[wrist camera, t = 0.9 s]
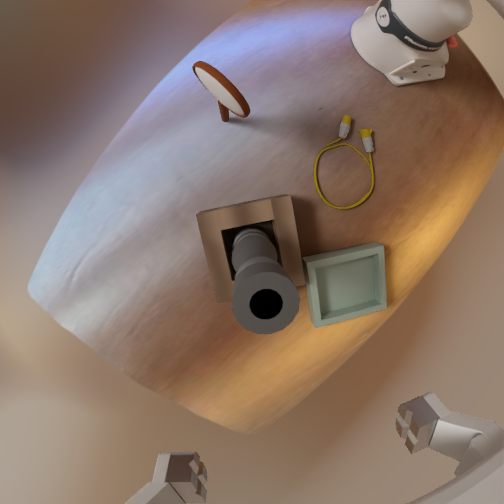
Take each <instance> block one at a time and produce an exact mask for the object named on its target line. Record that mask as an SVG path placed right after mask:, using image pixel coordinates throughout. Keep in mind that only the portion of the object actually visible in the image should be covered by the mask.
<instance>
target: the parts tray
mask: <svg viewBox="0 0 504 504" xmlns="http://www.w3.org/2000/svg"><path fill="white" fill-rule="evenodd" d="M302 261H303V268H304V275H305V281H306V288H307V295H308V302H309V310H310V317H311V321H312V323H313V324H314V326H315V328H318V327H322V326H326V325H329V324H333V323H337V322H341V321H345V320H348V319H352V318H356V317H359V316H363V315H366V314H369V313H373V312H376V311H380V310H383V309H386V308H387V301H386V272H385V255H384V245H382V244H379V243H377V242H371V243H366V244H362V245H357V246H353V247H348V248H344V249H339V250H334V251H330V252H325V253H321V254H316V255H311V256H307V257H302Z"/></svg>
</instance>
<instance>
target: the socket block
mask: <svg viewBox="0 0 504 504" xmlns="http://www.w3.org/2000/svg"><path fill="white" fill-rule="evenodd" d="M196 216H197V221H198V225H199V230H200V234H201V238H202V243H203V247H204V251H205V255H206V259H207V263H208V268H209V272H210V276H211V280H212V284H213V288H214V291H215V295H216V299H217V303H220V302H225V301H230V300H232V299H233V284H234V281H235V275H236V273H237V272H236V271H235V272H232V268H231V263H230V259H229V255H228V250H227V246H226V241H225V236H224V232H223V230H224V229H229V228H234V227H239V226H244V225H248V224H253V223H258V222H263V221H268V220H271V222H272V227H273V232H274V238H275V243H276V249H277V254H278V260H279V262H278V264H279V265H280V266H281V267H282V268H283V269H284V270H285V271H286V272H287V274H288V275H289V276H290V277H291V279H292V281H293V283H294V284H295V286H296V287H298V286H302V285H305V279H304V272H303V266H302V259H301V253H300V247H299V241H298V235H297V229H296V223H295V217H294V212H293V206H292V201H291V195H286V194H284V195H279V196H273V197H268V198H263V199H258V200H253V201H248V202H243V203H238V204H233V205H229V206H224V207H219V208H214V209H210V210H205V211H201V212H199V213H198V214H196Z"/></svg>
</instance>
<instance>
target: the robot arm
mask: <svg viewBox="0 0 504 504" xmlns="http://www.w3.org/2000/svg"><path fill="white" fill-rule="evenodd" d="M487 1H488V2H489V3H490V4H491V5H492V7H493V8H494V9H495V10H496V11H497V12H498V13H499V14H500V16H501V17H502V18H503V19H504V0H487ZM471 20H472V8H471V4H470V2H469V0H380V1H379V2H378V3H377V4H375V5H374V6H373V7H371V6H370V7H368V8H366V10H365V11H364V14H363V16H361V17H360V18H358V19H357V20H356V21H355V22H354V23H353V25H352V28H351V37H352V41H353V44H354V46H355V48H356V49H357V51H358V53H359V54H360V55H361V56H362V58H363V59H364V60H365V61H366V62H368V63H369V64H370V65H371V66H373V67H374V68H376V69H377V70H379V71H380V72H382V73H383V74H385V75H386V77H387V78H388V79H389V80H390V81H391V82H392V83H393V84H394V85H396V86H400V85H405V84H411V83H417V82H423V81H429V80H436V79H442V78H443V77H444V76H445V64H447V63H448V60H449V52H448V48H447V45H446V42H445V41H446V40H447V44H448V47H451V48H453V47H457V46H458V44H457V42H456V40H455V37H454V36H452V35H454V34H456V33H458V32H459V31H461V30H463V29H465V28H466V27H468V25H469V24H470V22H471ZM400 78H402V80H401V79H400ZM398 413H399V416H398V417H397V419H396V429H397V431H398V434H399V435H400V437H401V438H404V439H406V442H405V445H406V447H407V448H408V450H409V451H410V453H411V454H413V453H415V452H418V451H420V450H422V449H424V448H426V447H428V446H429V448H431V449H433V450H436V451H438V452H440V453H442V454H444V455H446V456H449V457H451V458H453V459H456V460H458V461H460V463H459V465H458V467H457V468H456V470H455V475H456V476H457V477H456V478H454V479H453V480H451V481H449V482H448V483H446V484H444V485H442V486H441V487H439V488H437V489H435V490H433V491H431V492H430V493H428V494H426V495H424V496H422V497H420V498H418V499H416V500H414V501H412V502H410V503H407V504H504V430H503V429H502V427H500V425H499V424H498V423H497V422H495V421H491V420H486V419H482V418H478V417H474V416H470V415H465V414H462V413H458V412H455V411H453V412H450V411H449V410H448V409H447V408H446V407H445V406H444V405H443V403H442V402H441V401H440V400H439V399H438V398H437V397H436V396H435V394H434V393H433V392H428V393H426V394H424V395H422V396H420V397H417V398H415V399H412V400H410V401H408V402H406V403H403V404H401V405H400V406H399V407H398ZM199 460H200V456H199V454H198V453H197V452H161V453H160V454H159V455H158V459H157V464H156V468H155V472H154V476H153V481H152V482H148V483H147V484H146V485H145V486H144V487H143V488H142V489H140V490H139V491H138V492H137V493H136V494H135V495H134V496H132V497H131V498H130V499H129V500H128V501H126V502H125V503H124V504H186V503H206V494H207V490H206V489H205V487H204V485H205V484H206V483H207V470H206V468H205V465H204V463H203V462H201V461H199Z"/></svg>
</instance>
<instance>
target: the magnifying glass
mask: <svg viewBox="0 0 504 504" xmlns="http://www.w3.org/2000/svg"><path fill="white" fill-rule="evenodd" d="M193 71H194V73H195V75H196V76H197V78H198V79H199V80H200V82H201V83H202V84H203V85H204V86H205V87H206V89H207V90H208V91H209V92H210V93H211V94H212V95H213V96H214V97H215V98H216V99H217V100H218V104H219V109H220V113H221V118H222V121H224V122H227V121H228V120H229V111H228V109H229V110H230V111H231V112H233V113H234V114H236V115H237V116H239V117H242V118H245V117H247V116H248V115H249V114H250V108H249V105H248V103H247V102H246V100H245V98H244V97H243V96H242V94H241V93H240V92H239V90H238V89H237V88H236V87H235V86H234V85H233V84H232V83H231V82H230V81H229V80H228V79H227V78H226V77H225V76H224V75H223V74H222V73H220V72H219V71H218V70H217V69H215V68H214V67H212V66H211V65H209V64H207V63H205V62H202V61H198V62H196V63H195V64H194V65H193Z"/></svg>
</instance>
